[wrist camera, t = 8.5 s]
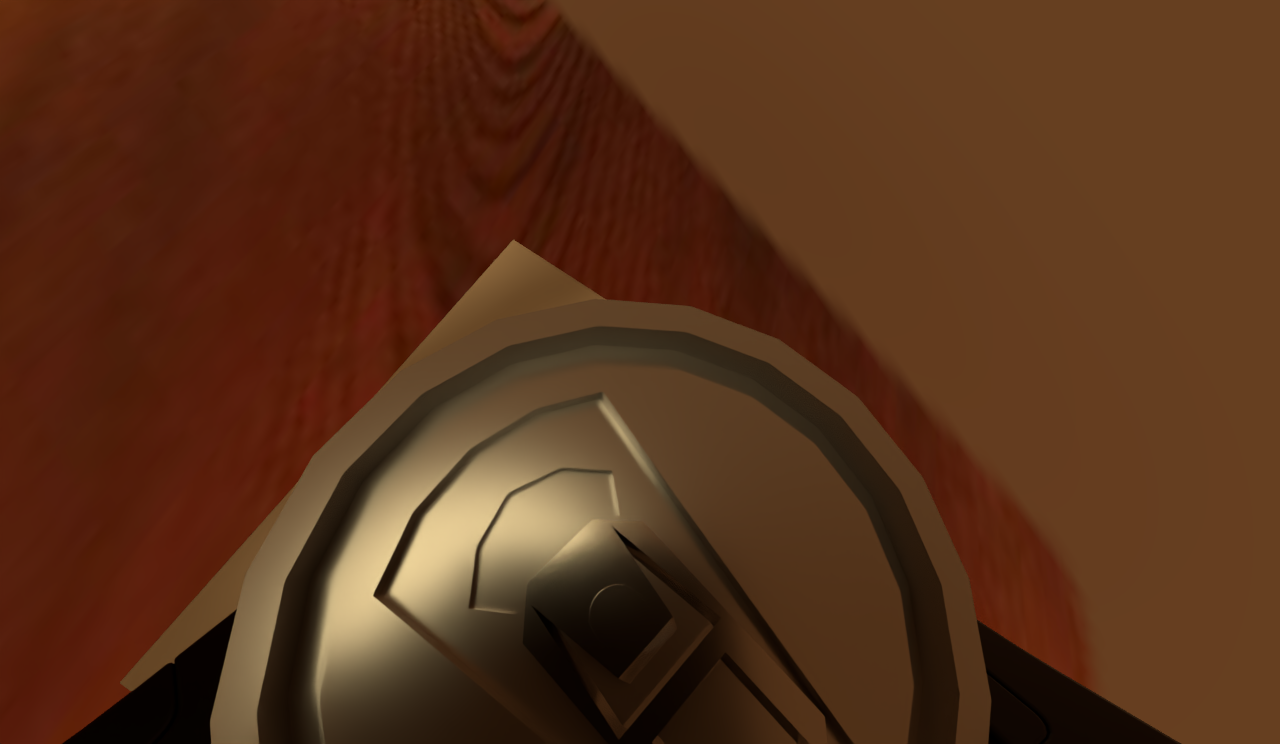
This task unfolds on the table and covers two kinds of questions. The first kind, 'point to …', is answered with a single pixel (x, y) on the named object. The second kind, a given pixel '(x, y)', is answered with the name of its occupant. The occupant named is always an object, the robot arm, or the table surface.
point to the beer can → (607, 555)
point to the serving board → (496, 294)
